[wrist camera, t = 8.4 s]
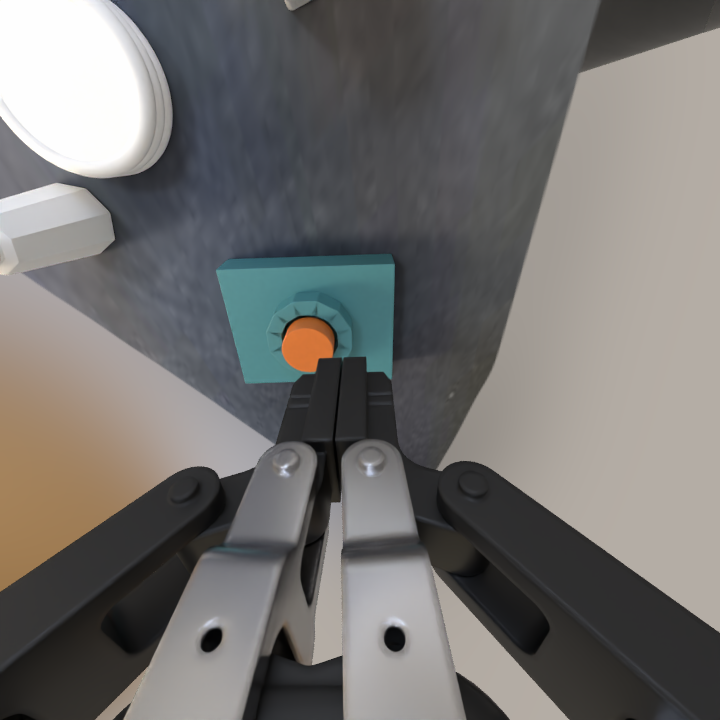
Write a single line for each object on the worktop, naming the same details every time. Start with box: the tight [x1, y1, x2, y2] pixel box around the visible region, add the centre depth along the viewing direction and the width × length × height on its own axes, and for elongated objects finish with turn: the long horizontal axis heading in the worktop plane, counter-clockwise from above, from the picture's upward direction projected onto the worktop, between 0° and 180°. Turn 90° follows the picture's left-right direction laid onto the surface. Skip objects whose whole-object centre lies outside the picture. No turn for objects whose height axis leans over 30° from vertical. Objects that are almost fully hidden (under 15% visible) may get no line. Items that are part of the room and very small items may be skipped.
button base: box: [216, 254, 395, 383], centre depth 30 cm, size 14×11×5 cm
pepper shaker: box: [0, 183, 115, 275], centre depth 23 cm, size 5×5×11 cm
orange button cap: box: [282, 317, 335, 372], centre depth 27 cm, size 4×4×2 cm
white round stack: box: [0, 0, 173, 178], centre depth 21 cm, size 10×10×4 cm
